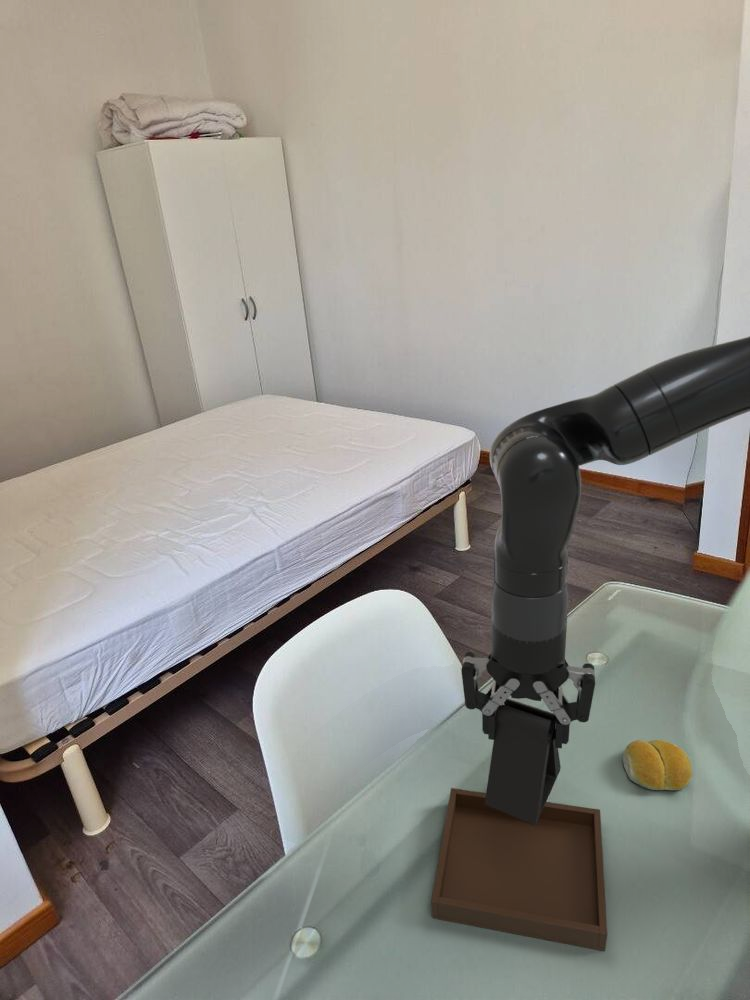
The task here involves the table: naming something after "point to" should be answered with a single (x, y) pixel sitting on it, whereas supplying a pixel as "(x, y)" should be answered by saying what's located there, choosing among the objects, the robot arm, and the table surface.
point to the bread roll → (657, 765)
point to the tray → (523, 871)
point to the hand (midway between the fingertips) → (525, 738)
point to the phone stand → (522, 761)
